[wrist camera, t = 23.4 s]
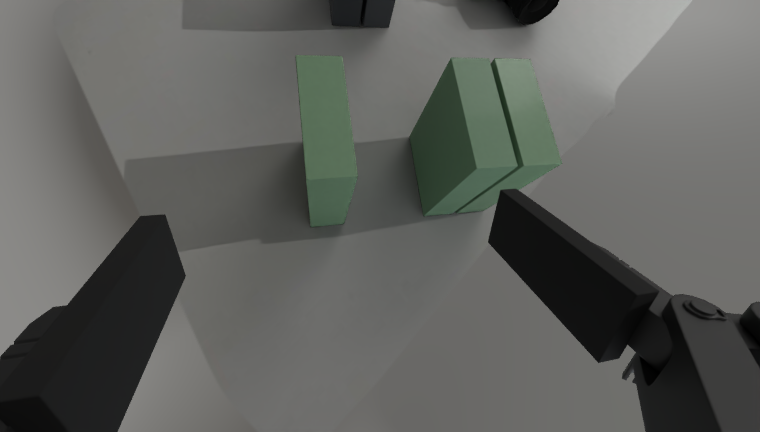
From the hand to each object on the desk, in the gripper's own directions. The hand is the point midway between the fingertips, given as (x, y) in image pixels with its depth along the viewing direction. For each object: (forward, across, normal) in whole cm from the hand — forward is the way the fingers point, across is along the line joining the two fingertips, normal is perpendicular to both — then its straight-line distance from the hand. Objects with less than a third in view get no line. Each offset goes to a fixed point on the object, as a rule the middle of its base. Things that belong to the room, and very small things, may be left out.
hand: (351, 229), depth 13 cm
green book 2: (+22, +17, -7) cm, 29 cm away
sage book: (+22, 0, -7) cm, 23 cm away
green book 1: (+22, +13, -7) cm, 26 cm away
